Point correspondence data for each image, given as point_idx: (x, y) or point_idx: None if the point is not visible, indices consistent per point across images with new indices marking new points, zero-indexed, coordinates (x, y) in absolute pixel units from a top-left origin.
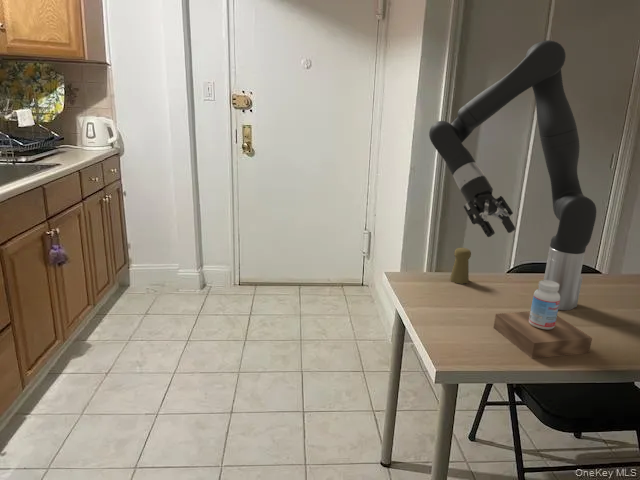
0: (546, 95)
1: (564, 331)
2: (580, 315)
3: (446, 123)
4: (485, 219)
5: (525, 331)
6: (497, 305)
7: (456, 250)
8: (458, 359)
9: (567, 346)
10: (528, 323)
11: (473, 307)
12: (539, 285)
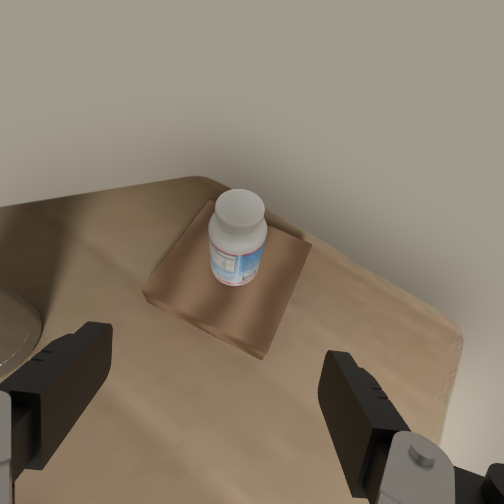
0: None
1: None
2: (41, 275)
3: None
4: (424, 441)
5: (287, 271)
6: (124, 439)
7: None
8: (417, 326)
9: None
10: (249, 283)
11: (194, 478)
12: (258, 225)
